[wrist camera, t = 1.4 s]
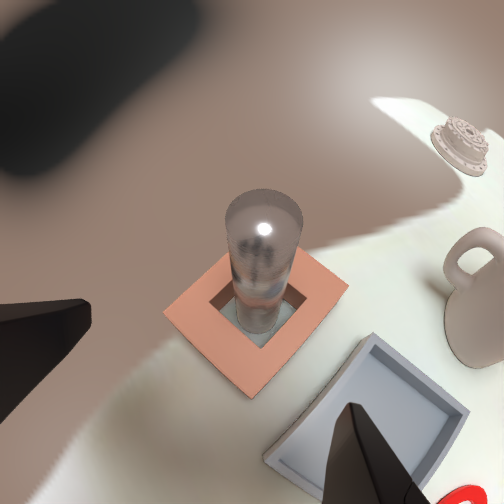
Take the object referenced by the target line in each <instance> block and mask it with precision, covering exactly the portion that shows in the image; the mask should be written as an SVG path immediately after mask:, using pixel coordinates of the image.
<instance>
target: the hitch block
mask: <svg viewBox="0 0 504 504" xmlns="http://www.w3.org/2000/svg"><path fill="white" fill-rule="evenodd" d="M348 287H349V285H348V284H346V283H345V282H344V281H342V280H341V279H340V278H339V277H337V276H336V275H335V274H333V273H332V272H331V271H330V270H328V269H327V268H326V267H324V266H323V265H322V264H320V263H319V262H318V261H317V260H315V259H314V258H313V257H311V256H310V255H309V254H307V253H306V252H305V251H303V250H302V249H301V248H299V247H298V246H297V250H296V254H295V257H294V261H293V265H292V268H291V272H290V276H289V279H288V283H287V286H286V290H285V293H284V297H283V299H285V300H286V301H287V302H288V303H290V304H291V305H292V306H293V307H294V308H296V309H297V311H296V312H295V313H294V314H293V315H292V316H291V317H290V318H289V320H288V321H287V322H286V323H285V324H284V325H283V326H282V327H281V328H280V329H279V331H278V332H277V333H276V334H275V335H274V336H273V337H272V338H271V339H270V340H269V341H268V342H267V343H266V345H265V346H264V347H263V348H262V349H260V348H259V347H258V346H257V345H256V344H254V343H253V342H252V341H251V340H250V339H249V338H248V337H246V336H245V335H244V334H243V333H242V332H241V331H240V330H239V329H237V328H236V327H235V326H234V325H233V324H232V323H231V322H230V321H229V320H228V319H226V318H225V317H224V316H223V315H222V314H221V313H220V312H219V310H220V309H221V308H222V307H223V306H224V305H225V304H227V303H228V302H229V301H230V300H231V299H232V298H233V297H234V288H233V280H232V272H231V265H230V256H229V252H228V253H227V254H226V255H225V256H223V257H222V258H221V259H220V260H219V261H218V262H217V263H216V264H215V265H214V266H212V267H211V268H210V269H209V270H208V271H207V272H206V273H205V274H204V275H203V276H202V277H200V278H199V279H198V280H197V281H196V282H195V283H194V284H193V285H192V286H191V287H189V288H188V289H187V290H186V291H185V292H184V293H183V294H182V295H181V296H180V297H179V298H177V300H175V301H174V302H173V303H172V304H171V305H170V306H169V307H168V308H167V309H166V310H165V311H163V314H164V315H165V316H166V317H167V318H168V319H169V321H170V322H171V323H172V324H173V325H174V326H175V327H176V328H177V329H178V330H179V331H180V332H181V334H182V335H183V336H184V337H185V338H186V339H187V340H188V341H189V342H190V343H191V344H192V345H193V346H194V347H195V348H196V349H197V350H198V351H199V352H200V353H201V354H202V355H203V356H204V357H205V358H207V359H208V360H209V361H210V362H211V363H212V364H213V365H214V366H215V367H216V368H217V369H218V370H219V371H220V372H221V373H222V374H223V375H224V376H226V377H227V378H228V379H229V380H230V381H231V382H232V383H233V384H234V385H235V386H237V387H238V388H239V389H240V390H241V391H242V392H243V393H244V394H246V395H247V396H248V397H249V398H250V399H252V398H253V397H254V396H255V395H256V394H257V393H258V392H259V391H260V390H261V389H262V388H263V387H264V386H265V385H266V384H267V383H268V382H269V381H270V380H271V379H272V377H273V376H274V375H275V374H276V373H277V372H278V371H279V370H280V369H281V368H282V367H283V365H284V364H285V363H286V362H287V361H288V360H289V359H290V358H291V357H292V355H293V354H294V353H295V352H296V351H297V350H298V349H299V347H300V346H301V345H302V344H303V343H304V342H305V340H306V339H307V338H308V337H309V336H310V335H311V333H312V332H313V331H314V330H315V329H316V327H317V326H318V325H319V324H320V323H321V321H322V320H323V319H324V318H325V316H326V315H327V314H328V313H329V312H330V310H331V309H332V308H333V306H334V305H335V304H336V303H337V301H338V300H339V299H340V297H341V296H342V295H343V293H344V292H345V291H346V289H347V288H348Z"/></svg>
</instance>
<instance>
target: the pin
mask: <svg viewBox="0 0 504 504" xmlns="http://www.w3.org/2000/svg"><path fill="white" fill-rule="evenodd" d="M225 222H226V232H227V240H228V248H229V256H230V265H231V272H232V280H233V288H234V296H235V303H236V311H237V318H238V321H239V324H240V325H241V327H242V328H243V329H245V330H246V331H248V332H250V333H254V334H261V333H265V332H267V331H269V330H270V329H271V328H272V327H273V326H274V325H275V323H276V321H277V317H278V314H279V310H280V307H281V304H282V300H283V297H284V293H285V290H286V286H287V283H288V279H289V276H290V272H291V268H292V265H293V261H294V257H295V254H296V250H297V246H298V243H299V239H300V235H301V231H302V227H303V216H302V212H301V210H300V208H299V206H298V205H297V204H296V202H294V201H293V199H291V198H290V197H289V196H287V195H285V194H283V193H281V192H278V191H275V190H270V189H256V190H251V191H248V192H245V193H243V194H241V195H239V196H238V197H237V198H236V199H234V200H233V201H232V203H231V204H230V205H229V207H228V209H227V212H226V216H225Z"/></svg>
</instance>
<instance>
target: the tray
mask: <svg viewBox="0 0 504 504" xmlns="http://www.w3.org/2000/svg"><path fill="white" fill-rule="evenodd" d="M348 402H354V403H358V404H361V405H362V406H363V408H364V409H365V411H366V412H367V413H368V415H369V416H370V418H371V419H372V421H373V422H374V424H375V425H376V427H377V428H378V429H379V431H380V432H381V434H382V435H383V437H384V438H385V440H386V441H387V442H388V444H389V445H390V447H391V448H392V450H393V451H394V453H395V454H396V456H397V457H398V458H399V460H400V461H401V463H402V464H403V466H404V467H405V469H406V470H407V472H408V473H409V474H410V476H411V477H412V479H413V481H414V482H415V483H416V485H417V486H418V487H419V489H420V490H421V491H422V490H423V488H424V487H425V486H426V484H427V483H428V481H429V480H430V479H431V477H432V476H433V474H434V473H435V471H436V470H437V468H438V467H439V465H440V464H441V462H442V461H443V459H444V458H445V456H446V455H447V453H448V451H449V450H450V448H451V446H452V445H453V443H454V441H455V440H456V438H457V436H458V434H459V432H460V431H461V429H462V427H463V425H464V423H465V421H466V419H467V417H468V415H469V413H470V411H469V410H468V409H467V408H465V407H464V406H463V405H462V404H461V403H459V402H458V401H457V400H456V399H455V398H453V397H452V396H451V395H450V394H449V393H447V392H446V391H445V390H444V389H443V388H441V387H440V386H439V385H438V384H436V383H435V382H434V381H433V380H432V379H430V378H429V377H428V376H427V375H425V374H424V373H423V372H422V371H421V370H419V369H418V368H417V367H416V366H414V365H413V364H412V363H411V362H410V361H408V360H407V359H406V358H405V357H403V356H402V355H401V354H400V353H398V352H397V351H396V350H395V349H394V348H392V347H391V346H390V345H389V344H387V343H386V342H385V341H384V340H382V339H381V338H380V337H379V336H377V335H376V334H375V333H374V332H373V333H371V334H370V335H368V336H367V337H365V338H364V339H362V340H361V341H360V343H359V344H358V345H357V347H356V348H355V349H354V351H353V352H352V353H351V355H350V356H349V358H348V359H347V360H346V361H345V363H344V364H343V365H342V367H341V368H340V369H339V371H338V372H337V373H336V374H335V376H334V377H333V378H332V379H331V381H330V382H329V383H328V384H327V386H326V387H325V388H324V389H323V390H322V392H321V393H320V394H319V395H318V396H317V398H316V399H315V400H314V401H313V402H312V403H311V404H310V406H309V407H308V408H307V409H306V410H305V411H304V412H303V414H302V415H301V416H300V417H299V418H298V419H297V420H296V421H295V422H294V423H293V424H292V426H291V427H290V428H289V429H288V430H287V431H286V432H285V433H284V434H283V435H282V436H281V437H280V438H279V439H278V440H277V441H276V442H275V443H274V444H273V445H272V446H271V447H270V448H269V449H268V450H267V451H266V452H265V453H264V454H263V455H262V456H263V460H264V462H265V463H266V464H267V465H269V466H270V467H271V468H273V469H274V470H275V471H277V472H278V473H280V474H281V475H282V476H284V477H285V478H287V479H288V480H289V481H291V482H292V483H294V484H295V485H297V486H298V487H300V488H301V489H303V490H304V491H306V492H307V493H309V494H310V495H312V496H313V497H315V498H317V499H318V500H320V501H321V502H322V498H323V490H324V482H325V472H326V464H327V460H328V455H329V450H330V446H331V441H332V436H333V431H334V426H335V422H336V420H337V418H338V417H339V415H340V413H341V412H342V410H343V409H344V407H345V406H346V404H347V403H348Z"/></svg>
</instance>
